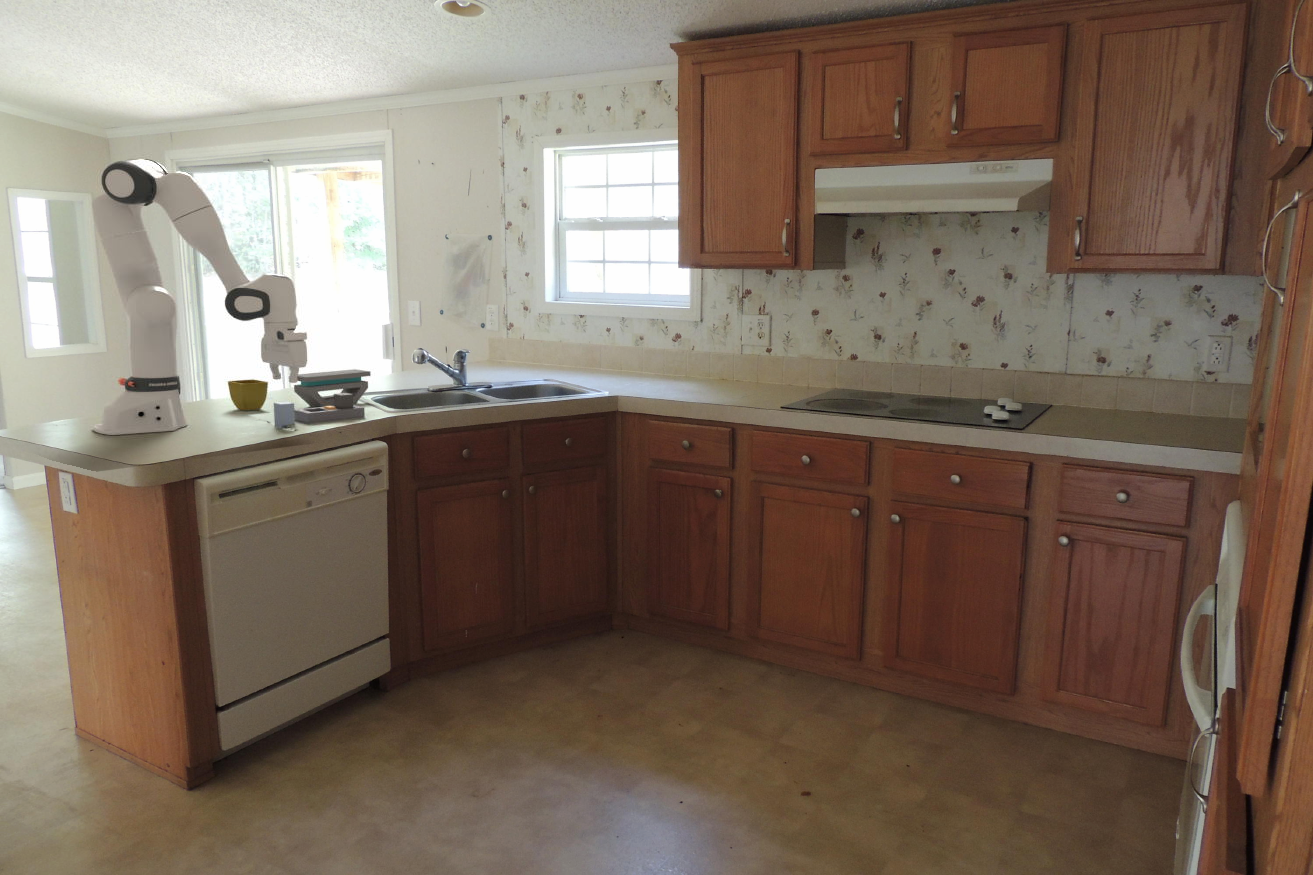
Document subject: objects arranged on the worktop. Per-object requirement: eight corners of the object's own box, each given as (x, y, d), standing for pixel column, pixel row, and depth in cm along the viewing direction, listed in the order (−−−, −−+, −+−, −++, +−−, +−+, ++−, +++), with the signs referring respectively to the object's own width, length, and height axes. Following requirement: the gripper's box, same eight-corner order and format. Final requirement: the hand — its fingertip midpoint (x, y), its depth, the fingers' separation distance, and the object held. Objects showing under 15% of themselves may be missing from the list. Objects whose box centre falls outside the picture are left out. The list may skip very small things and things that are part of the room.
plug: (281, 428, 252) (280, 404, 250) (274, 426, 254) (273, 402, 253) (295, 427, 255) (294, 403, 253) (288, 425, 257) (287, 401, 256)
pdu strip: (308, 427, 255) (307, 411, 255) (294, 423, 261) (294, 407, 260) (364, 420, 269) (364, 405, 268) (350, 417, 274) (350, 402, 273)
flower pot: (254, 406, 287) (253, 378, 285) (270, 409, 282) (268, 381, 280) (228, 409, 280) (226, 381, 278) (243, 412, 275) (242, 383, 273)
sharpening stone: (356, 400, 306) (355, 369, 304) (371, 403, 302) (370, 371, 300) (291, 408, 286) (290, 375, 284) (307, 411, 282) (305, 377, 280)
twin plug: (341, 418, 265) (340, 395, 264) (334, 416, 268) (333, 393, 266) (353, 417, 268) (352, 394, 267) (346, 415, 271) (345, 392, 269)
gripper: (253, 330, 254) (257, 378, 256) (288, 335, 240) (291, 385, 243) (274, 329, 258) (278, 376, 261) (310, 333, 245) (313, 383, 248)
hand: (285, 380), depth 252 cm, fingers open, 8 cm apart
